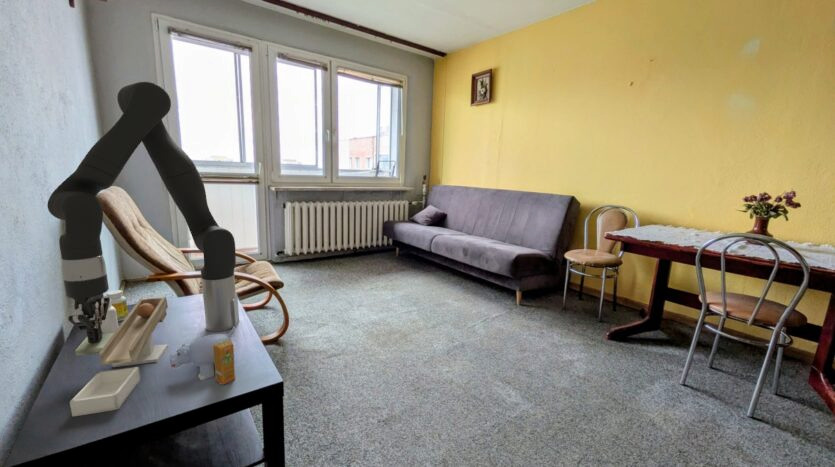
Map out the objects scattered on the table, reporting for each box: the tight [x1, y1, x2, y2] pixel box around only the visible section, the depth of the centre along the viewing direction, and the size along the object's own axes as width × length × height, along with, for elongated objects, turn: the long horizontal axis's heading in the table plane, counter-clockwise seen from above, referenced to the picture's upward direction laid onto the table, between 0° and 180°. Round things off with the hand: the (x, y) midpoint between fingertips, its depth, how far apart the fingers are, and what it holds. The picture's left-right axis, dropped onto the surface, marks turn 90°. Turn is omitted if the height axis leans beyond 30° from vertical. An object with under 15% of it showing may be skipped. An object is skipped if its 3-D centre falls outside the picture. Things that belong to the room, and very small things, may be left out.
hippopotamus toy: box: [169, 327, 236, 381], centre depth 90 cm, size 11×15×10 cm
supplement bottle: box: [106, 289, 129, 322], centre depth 116 cm, size 5×5×10 cm
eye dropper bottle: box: [101, 294, 119, 334], centre depth 107 cm, size 4×6×12 cm
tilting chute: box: [74, 296, 169, 366], centre depth 93 cm, size 13×24×6 cm, turn 18°
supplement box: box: [213, 340, 236, 386], centre depth 85 cm, size 3×3×10 cm
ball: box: [137, 303, 155, 317], centre depth 99 cm, size 4×4×4 cm
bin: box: [69, 366, 141, 418], centre depth 79 cm, size 8×11×4 cm
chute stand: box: [111, 333, 169, 368], centre depth 95 cm, size 10×8×6 cm
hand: (95, 341), depth 86 cm, fingers closed
